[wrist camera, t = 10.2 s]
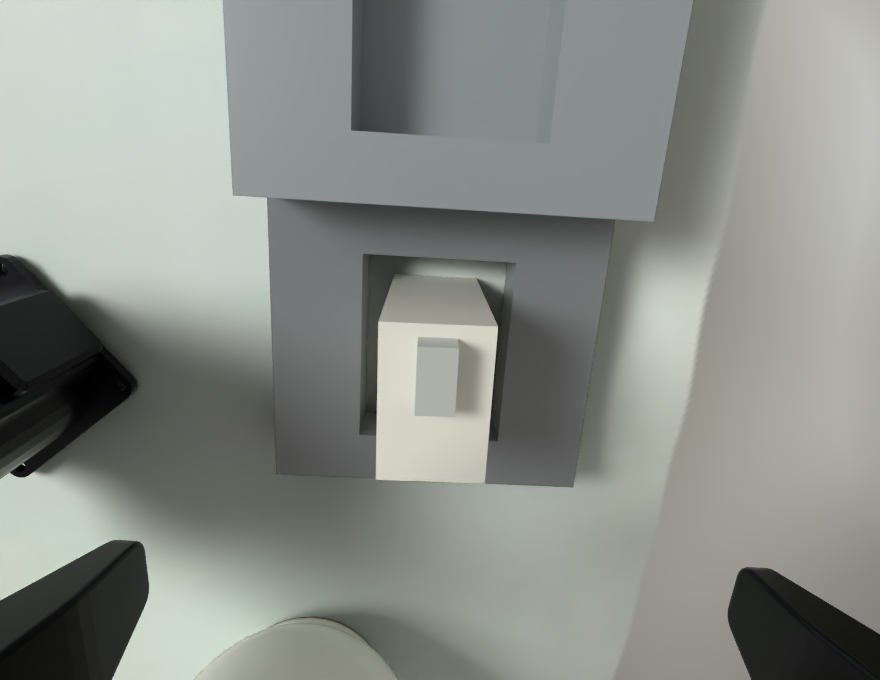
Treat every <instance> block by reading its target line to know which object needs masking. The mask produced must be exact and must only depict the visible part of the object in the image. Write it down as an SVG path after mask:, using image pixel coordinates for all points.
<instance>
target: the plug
mask: <svg viewBox="0 0 880 680" xmlns="http://www.w3.org/2000/svg"><path fill="white" fill-rule="evenodd" d="M497 335H498V325H497V323H496V321H495V319H494V316H493V314H492V312H491V310H490V307H489V305H488V303H487V301H486V298H485V296H484V294H483V292H482V290H481V287H480V285H479V283H478V281H477V278H464V277H442V276H421V275H399V274H395V275H394V277H393V280H392V283H391V286H390V289H389V292H388V295H387V298H386V301H385V303H384V306H383V309H382V312H381V315H380V318H379V321H378V369H377V432H376V480H398V481H428V482H458V483H485V474H486V463H487V451H488V439H489V428H490V416H491V404H492V393H493V381H494V370H495V358H496V346H497Z"/></svg>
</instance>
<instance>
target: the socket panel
mask: <svg viewBox="0 0 880 680" xmlns="http://www.w3.org/2000/svg"><path fill="white" fill-rule="evenodd" d="M692 5H693V0H223V14H224V33H225V53H226V72H227V91H228V111H229V130H230V149H231V169H232V188H233V195H235V196H251V197H267V208H268V238H269V268H270V298H271V328H272V358H273V388H274V418H275V448H276V474H284V475H306V476H329V477H352V478H374V479H376V432H377V412H370V411H366V376H367V332H368V287H369V254H376V255H392V256H409V257H426V258H443V259H460V260H477V261H493V262H507V269H506V279H505V289H504V299H503V309H502V319H501V329H500V339H499V349H498V359H497V369H496V379H495V389H494V399H493V409H492V417H490V428H489V439H488V451H487V463H486V474H485V483H488V484H510V485H533V486H556V487H573V485H574V478H575V472H576V466H577V459H578V453H579V447H580V440H581V434H582V427H583V421H584V415H585V408H586V402H587V395H588V389H589V383H590V376H591V370H592V364H593V357H594V351H595V344H596V338H597V332H598V325H599V319H600V312H601V306H602V300H603V293H604V287H605V281H606V274H607V268H608V261H609V255H610V249H611V242H612V236H613V229H614V223H615V219H617V220H633V221H649V222H654V219H655V213H656V207H657V202H658V196H659V191H660V185H661V179H662V174H663V168H664V162H665V157H666V151H667V146H668V140H669V134H670V129H671V123H672V118H673V112H674V106H675V101H676V95H677V89H678V84H679V78H680V73H681V67H682V61H683V56H684V50H685V45H686V39H687V33H688V28H689V22H690V17H691V11H692Z"/></svg>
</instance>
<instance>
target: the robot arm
mask: <svg viewBox="0 0 880 680" xmlns="http://www.w3.org/2000/svg"><path fill="white" fill-rule="evenodd" d="M2 264H3V265H5V266H6V268H7V269H8V274H5V273H4V272H3V270H2ZM117 382H121V383H123V384H124V386H125V390H122V389H121V388H119V386H118V385H117ZM137 386H138V385H137V381H136V379H135V378H134V376H133V375H132V374H131V373H130V372H129V371H128V370H127V369H126V368H125V367H124V366H123V365H122V364H121V363H120V362H119V361H118V360H117V359H116V358H115V357H114V356H113V355H112V354H111V353H110V352H109V351H108V350H107V349H106V348H105V347H104V346H103V345H102V344H101V341H100V340H99V339H98V338H97V337H96V336H95V335H94V334H93V333H92V332H91V331H90V330H89V329H88V328H87V327H86V326H85V325H84V324H83V323H82V322H81V321H80V320H79V319H78V318H77V317H76V316H75V315H74V314H73V313H72V312H71V311H70V310H69V309H68V308H67V307H66V306H65V305H64V304H63V303H62V302H61V301H60V300H59V299H58V298H57V297H56V296H55V295H54V294H53V293H52V292H51V291H49V290H48V289H47V288H46V287H45V286H44V285H43V284H42V283H41V282H40V281H39V280H38V279H37V278H36V277H35V276H34V275H33V274H32V273H31V272H30V271H29V270H28V269H27V268H26V267H25V266H24V265H23V264H22V263H21V262H20V261H19V260H18V259H16V258H15V257H14V256H11V255H8V254H7V255H0V479H1V478H2V477H4V476H5V475H7V474H8V473H9V472H10V473H11V474H13V475H14V476H17V477H26V476H28V475H30V474H31V473H33V472H34V471H35V470H37V469H38V468H39V467H40V466H42V465H43V464H44V463H46V462H47V461H48V460H49V459H51V458H52V457H53V456H54V455H56V454H57V453H58V452H60V451H61V450H62V449H63V448H65V447H66V446H67V445H69V444H70V443H71V442H72V441H74V440H75V439H76V438H78V437H79V436H80V435H81V434H83V433H84V432H85V431H86V430H88V429H89V428H90V427H92V426H93V425H94V424H95V423H97V422H98V421H99V420H101V419H102V418H103V417H104V416H106V415H107V414H108V413H110V412H111V411H112V410H113V409H115V408H116V407H117V406H119V405H120V404H121V403H122V402H124V401H125V400H126V399H127V398H129V397H130V396H131V395H133V394H134V393H135V391H136V390H137ZM22 463H24V464H25V466H24V465H22ZM148 594H149V581H148V573H147V564H146V556H145V550H144V546H143V545H142V543H140V542H138V541H126V540H113V541H110V542H108V543H106V544H104V545H102V546H100V547H98V548H96V549H95V550H93V551H91V552H89V553H87V554H85V555H83V556H82V557H80V558H78V559H76V560H74V561H72V562H71V563H69V564H67V565H65V566H63V567H61V568H60V569H58V570H56V571H54V572H52V573H50V574H49V575H47V576H45V577H43V578H41V579H39V580H38V581H36V582H34V583H32V584H30V585H28V586H27V587H25V588H23V589H21V590H19V591H17V592H15V593H14V594H12V595H10V596H8V597H6V598H4V599H3V600H1V601H0V680H112V678H113V676H114V674H115V671H116V669H117V667H118V665H119V663H120V660H121V658H122V656H123V654H124V651H125V649H126V647H127V645H128V642H129V640H130V638H131V636H132V634H133V631H134V629H135V627H136V625H137V622H138V620H139V618H140V616H141V613H142V611H143V609H144V607H145V604H146V602H147V598H148ZM728 622H729V626H730V628H731V631H732V634H733V636H734V638H735V641H736V643H737V646H738V648H739V651H740V653H741V656H742V658H743V661H744V663H745V665H746V668H747V670H748V673H749V675H750V677H751V680H880V634H878V633H877V632H875V631H873V630H872V629H870V628H868V627H866V626H865V625H863V624H862V623H860V622H858V621H857V620H855V619H853V618H852V617H850V616H848V615H847V614H845V613H843V612H842V611H840V610H839V609H837V608H835V607H833V606H832V605H830V604H829V603H827V602H825V601H823V600H822V599H820V598H819V597H817V596H815V595H814V594H812V593H810V592H809V591H807V590H805V589H804V588H802V587H800V586H799V585H797V584H795V583H794V582H792V581H790V580H789V579H787V578H785V577H784V576H782V575H780V574H779V573H777V572H775V571H774V570H771V569H768V568H752V567H746V568H743V569H741V570H740V571H739V573H738V575H737V578H736V582H735V586H734V590H733V593H732V596H731V600H730V604H729V608H728Z"/></svg>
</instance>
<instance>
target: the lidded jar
mask: <svg viewBox="0 0 880 680" xmlns="http://www.w3.org/2000/svg"><path fill="white" fill-rule="evenodd" d="M194 680H398V679H397V678H396V676H395V674H394V673H393V671H392V670H391V668H390V667H389V666H388V664H387V663H386V662H385V660H384V659H383V658H382V657H381V656H380V655H379V654H378V653H377V652H376V651H375V650H373V649H372V648H371V647H370V646H369V645H368V643H367V642H366V641H365V640H364V639H363V638H362V637H361V636H360V635H359V634H358V633H356V632H355V631H354V630H352V629H350V628H349V627H347V626H345V625H343V624H340V623H338V622H335V621H331V620H327V619H323V618H315V617H303V618H295V619H290V620H286V621H282V622H280V623H278V624H275V625H273V626H271V627H270V628H268V629H265V630H262V631H259V632H257V633H254V634H252V635H250V636H247V637H245V638H244V639H242V640H240V641H239V642H237V643H235V644H234V645H232V646H231V647H229V648H228V649H226V650H225V651H223V652H222V653H221V654H219V655H218V656H217V657H216V658H215V659H214V660H213V661H211V662H210V663H209V664H208V665H207V666H206V667H205V668H204V669H203V670H202V671H201V672H200V673H199V674H198V675H197V676H196V677H195V679H194Z"/></svg>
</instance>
